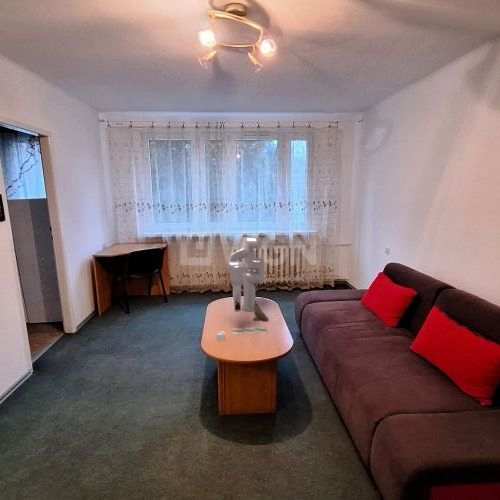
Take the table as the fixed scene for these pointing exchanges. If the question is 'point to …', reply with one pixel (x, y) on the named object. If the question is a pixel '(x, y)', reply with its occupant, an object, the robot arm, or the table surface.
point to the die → (221, 336)
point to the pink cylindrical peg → (234, 306)
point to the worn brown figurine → (259, 314)
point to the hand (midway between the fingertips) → (237, 307)
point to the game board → (249, 330)
